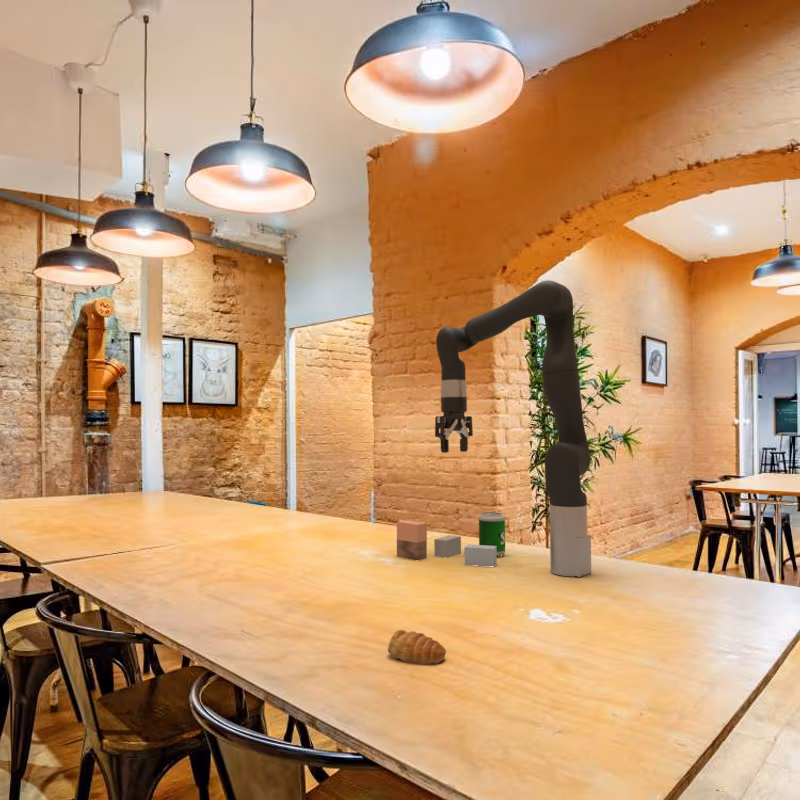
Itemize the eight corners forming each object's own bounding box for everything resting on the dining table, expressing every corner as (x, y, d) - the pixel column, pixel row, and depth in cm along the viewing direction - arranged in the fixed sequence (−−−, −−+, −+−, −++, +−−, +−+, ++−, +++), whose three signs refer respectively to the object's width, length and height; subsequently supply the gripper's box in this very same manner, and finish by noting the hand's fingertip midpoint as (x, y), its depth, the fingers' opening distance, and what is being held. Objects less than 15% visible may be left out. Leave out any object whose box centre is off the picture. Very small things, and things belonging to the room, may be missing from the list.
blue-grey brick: (496, 564, 171) (496, 546, 171) (494, 567, 167) (494, 548, 167) (467, 562, 174) (467, 544, 174) (464, 565, 170) (464, 547, 170)
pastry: (453, 656, 104) (453, 633, 104) (434, 670, 98) (434, 646, 99) (404, 646, 109) (404, 624, 109) (383, 659, 103) (383, 636, 103)
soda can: (497, 559, 177) (497, 516, 178) (474, 555, 182) (473, 514, 182) (510, 554, 183) (509, 513, 184) (487, 551, 188) (486, 511, 188)
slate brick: (449, 551, 188) (449, 535, 188) (460, 553, 186) (460, 536, 186) (434, 556, 182) (434, 539, 182) (446, 558, 179) (446, 540, 180)
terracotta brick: (426, 540, 179) (426, 523, 179) (417, 542, 176) (417, 524, 176) (406, 537, 185) (406, 520, 185) (396, 539, 182) (396, 521, 182)
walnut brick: (426, 558, 179) (426, 540, 179) (417, 560, 176) (417, 542, 176) (406, 554, 184) (406, 537, 185) (396, 556, 182) (396, 539, 182)
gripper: (447, 394, 176) (448, 453, 175) (479, 396, 186) (479, 451, 185) (427, 396, 181) (428, 452, 180) (459, 397, 191) (460, 450, 190)
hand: (454, 452), depth 183 cm, fingers open, 8 cm apart
